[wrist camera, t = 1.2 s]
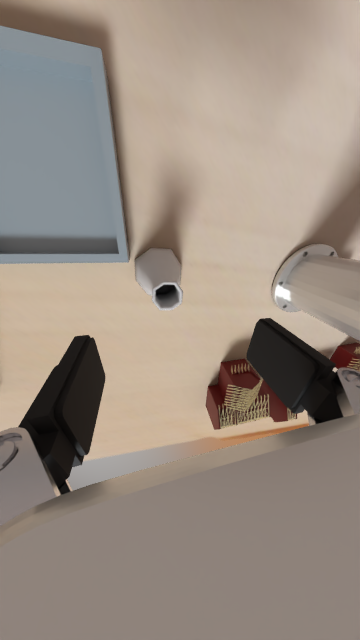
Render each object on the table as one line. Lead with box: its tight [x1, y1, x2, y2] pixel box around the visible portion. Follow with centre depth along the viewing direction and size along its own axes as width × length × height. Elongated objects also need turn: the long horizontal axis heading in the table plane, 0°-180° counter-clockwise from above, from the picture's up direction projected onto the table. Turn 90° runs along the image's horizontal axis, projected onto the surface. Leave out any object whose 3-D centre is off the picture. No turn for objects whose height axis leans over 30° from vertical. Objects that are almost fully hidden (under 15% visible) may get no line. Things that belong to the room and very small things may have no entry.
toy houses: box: [206, 343, 360, 430], centre depth 41 cm, size 45×20×10 cm, turn 91°
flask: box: [135, 248, 183, 310], centre depth 20 cm, size 7×7×10 cm
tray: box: [0, 26, 130, 264], centre depth 16 cm, size 16×16×2 cm
